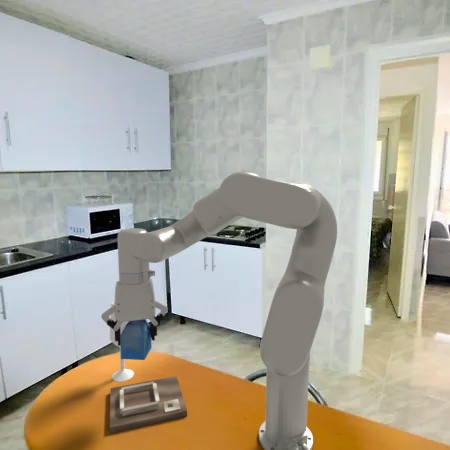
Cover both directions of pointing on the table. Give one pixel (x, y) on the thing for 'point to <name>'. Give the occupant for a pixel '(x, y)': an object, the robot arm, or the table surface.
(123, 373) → the champagne flute
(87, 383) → the table surface
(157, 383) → the board
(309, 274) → the robot arm
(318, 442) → the table surface
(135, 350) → the perfume bottle
